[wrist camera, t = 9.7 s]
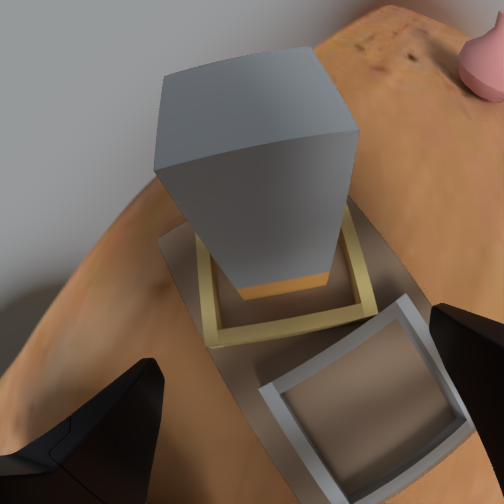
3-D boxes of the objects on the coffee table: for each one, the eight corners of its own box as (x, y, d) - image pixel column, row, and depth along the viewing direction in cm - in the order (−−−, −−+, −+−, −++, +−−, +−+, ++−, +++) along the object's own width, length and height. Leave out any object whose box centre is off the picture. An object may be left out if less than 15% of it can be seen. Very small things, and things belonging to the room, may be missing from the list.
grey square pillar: (326, 285, 18) (359, 129, 6) (244, 300, 18) (153, 170, 7) (310, 221, 20) (309, 46, 8) (235, 236, 20) (164, 76, 9)
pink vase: (504, 124, 22) (540, 43, 11) (448, 91, 25) (472, 3, 14) (503, 94, 24) (530, 24, 13) (455, 66, 26) (472, -8, 15)
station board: (485, 412, 13) (505, 414, 11) (322, 527, 12) (324, 545, 10) (308, 160, 23) (308, 138, 21) (160, 242, 22) (145, 227, 20)
